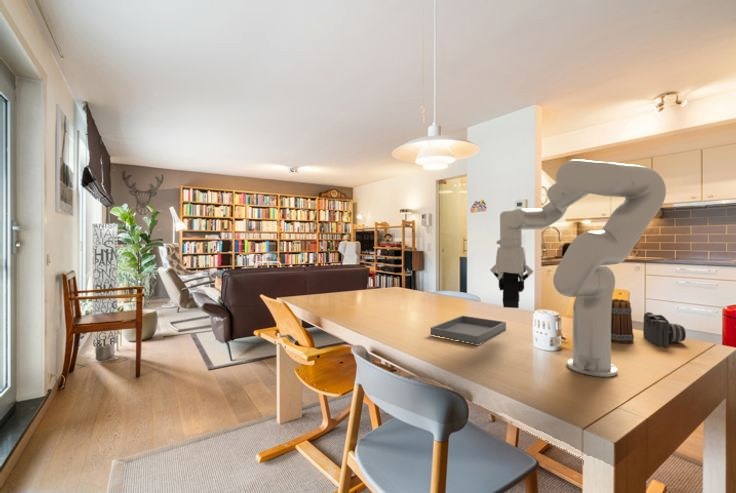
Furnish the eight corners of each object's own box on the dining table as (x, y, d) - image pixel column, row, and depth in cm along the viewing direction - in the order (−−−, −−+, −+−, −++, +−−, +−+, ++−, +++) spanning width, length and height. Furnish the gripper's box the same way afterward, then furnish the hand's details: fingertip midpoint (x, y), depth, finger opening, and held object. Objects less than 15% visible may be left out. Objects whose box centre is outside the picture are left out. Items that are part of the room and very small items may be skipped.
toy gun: (519, 322, 133) (519, 294, 139) (518, 301, 120) (518, 271, 126) (505, 322, 135) (506, 293, 142) (502, 300, 122) (503, 270, 128)
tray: (478, 345, 125) (478, 336, 125) (430, 336, 138) (430, 327, 138) (506, 330, 146) (505, 322, 146) (462, 323, 159) (462, 315, 159)
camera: (694, 349, 118) (694, 321, 118) (655, 346, 122) (655, 319, 122) (673, 338, 131) (673, 312, 131) (639, 336, 135) (639, 311, 135)
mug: (622, 336, 135) (622, 298, 135) (640, 344, 125) (640, 303, 124) (580, 335, 137) (580, 298, 137) (595, 343, 126) (595, 302, 126)
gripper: (484, 243, 133) (485, 290, 133) (532, 243, 121) (532, 294, 122) (492, 243, 139) (492, 287, 139) (538, 243, 127) (538, 291, 127)
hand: (511, 290), depth 130 cm, fingers closed on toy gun, 6 cm apart
